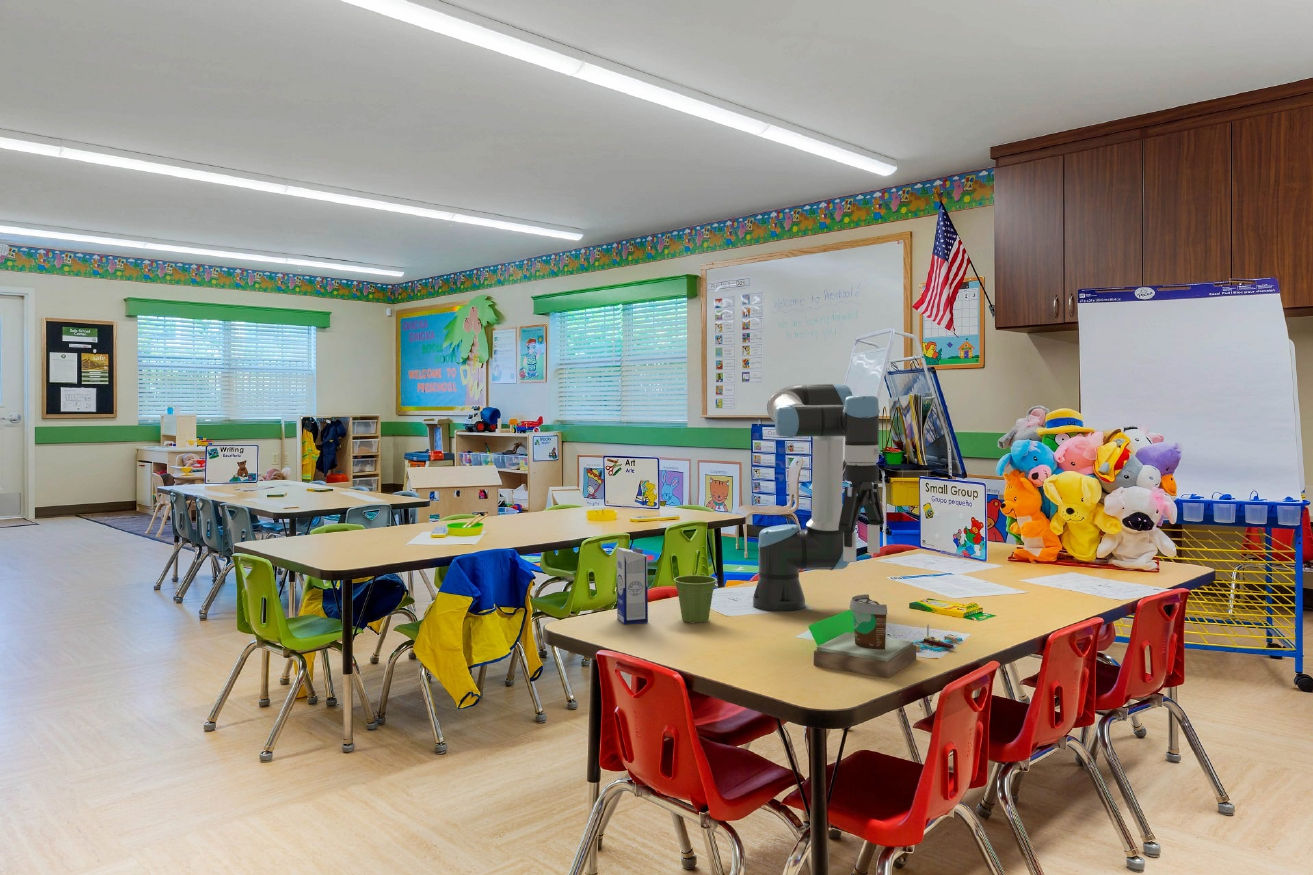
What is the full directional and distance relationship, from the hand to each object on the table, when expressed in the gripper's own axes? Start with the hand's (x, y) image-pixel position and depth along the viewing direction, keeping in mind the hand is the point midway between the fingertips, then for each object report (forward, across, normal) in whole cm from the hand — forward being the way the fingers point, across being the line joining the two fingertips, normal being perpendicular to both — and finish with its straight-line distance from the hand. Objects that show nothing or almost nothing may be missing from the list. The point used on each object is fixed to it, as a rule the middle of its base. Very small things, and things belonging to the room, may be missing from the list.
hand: (862, 557), depth 195 cm
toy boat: (+24, +18, -11) cm, 31 cm away
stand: (+23, -4, -3) cm, 23 cm away
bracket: (+24, +7, +12) cm, 27 cm away
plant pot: (+24, +9, +51) cm, 57 cm away
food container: (+19, -4, -2) cm, 20 cm away
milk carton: (+24, -1, +65) cm, 70 cm away
